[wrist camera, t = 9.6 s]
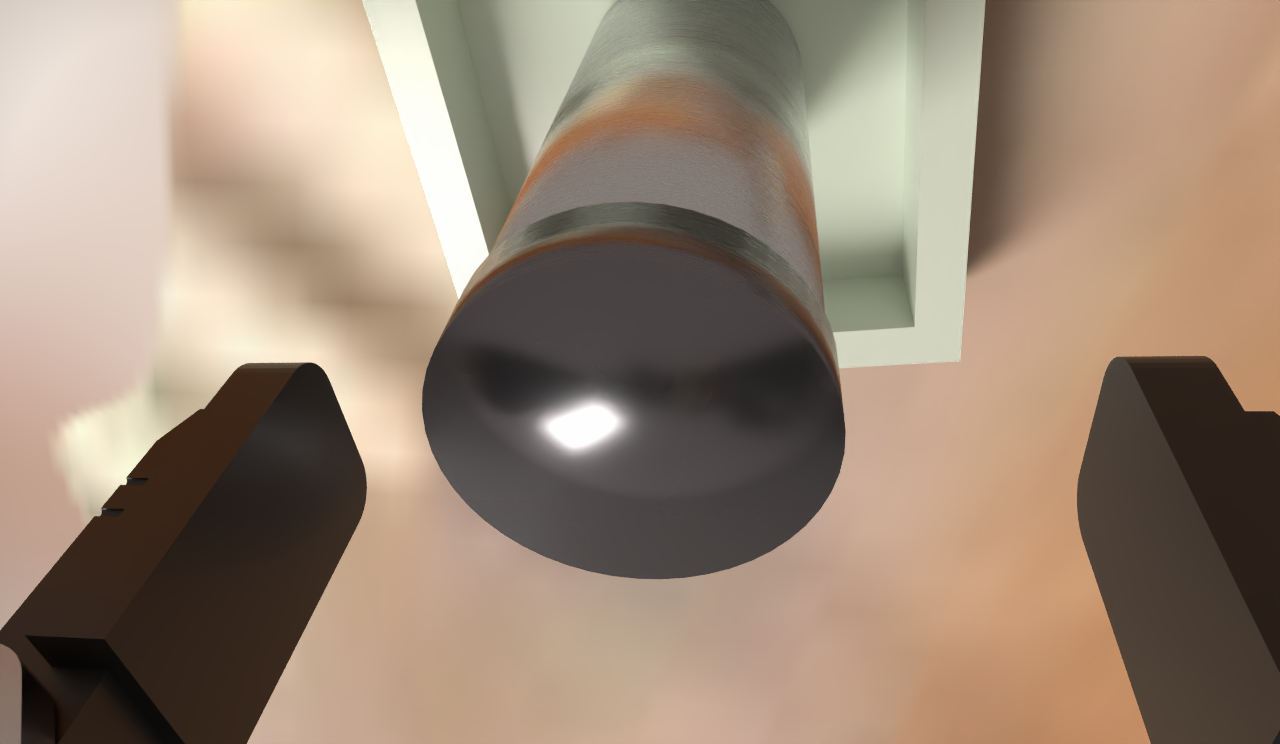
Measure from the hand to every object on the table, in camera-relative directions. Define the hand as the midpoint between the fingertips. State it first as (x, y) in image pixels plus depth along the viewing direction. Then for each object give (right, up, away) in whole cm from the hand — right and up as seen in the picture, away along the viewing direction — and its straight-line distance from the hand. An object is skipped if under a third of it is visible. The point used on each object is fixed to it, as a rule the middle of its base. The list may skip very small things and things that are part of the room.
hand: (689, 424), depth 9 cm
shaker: (+1, +7, +10) cm, 12 cm away
